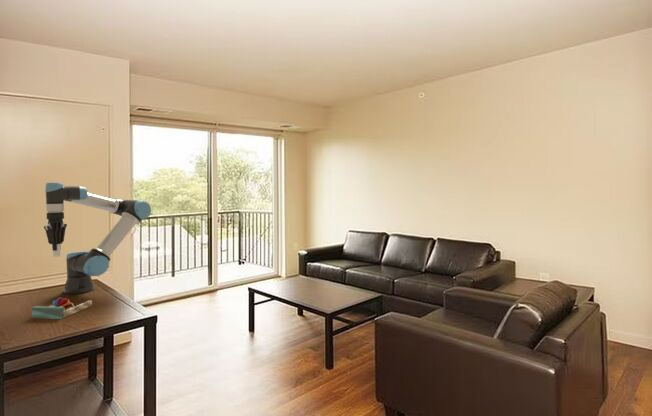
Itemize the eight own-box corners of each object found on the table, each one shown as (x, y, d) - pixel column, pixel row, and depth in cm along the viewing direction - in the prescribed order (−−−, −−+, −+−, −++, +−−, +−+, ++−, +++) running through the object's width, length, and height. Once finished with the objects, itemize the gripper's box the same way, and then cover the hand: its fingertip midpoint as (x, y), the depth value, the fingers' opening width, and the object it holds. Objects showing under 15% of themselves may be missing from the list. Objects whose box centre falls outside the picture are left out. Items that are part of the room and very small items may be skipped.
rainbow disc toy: (64, 315, 183) (63, 300, 182) (45, 314, 184) (44, 299, 183) (77, 310, 191) (76, 295, 191) (59, 309, 192) (58, 295, 192)
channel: (66, 304, 200) (66, 294, 200) (92, 305, 199) (91, 295, 198) (32, 318, 179) (31, 307, 179) (60, 319, 178) (60, 308, 177)
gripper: (58, 211, 209) (59, 254, 210) (38, 212, 196) (40, 258, 197) (71, 211, 208) (72, 254, 209) (52, 212, 195) (53, 258, 196)
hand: (56, 256), depth 203 cm, fingers closed
